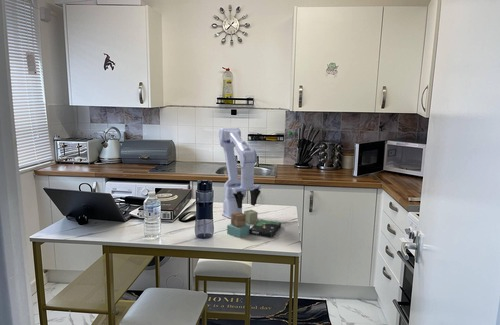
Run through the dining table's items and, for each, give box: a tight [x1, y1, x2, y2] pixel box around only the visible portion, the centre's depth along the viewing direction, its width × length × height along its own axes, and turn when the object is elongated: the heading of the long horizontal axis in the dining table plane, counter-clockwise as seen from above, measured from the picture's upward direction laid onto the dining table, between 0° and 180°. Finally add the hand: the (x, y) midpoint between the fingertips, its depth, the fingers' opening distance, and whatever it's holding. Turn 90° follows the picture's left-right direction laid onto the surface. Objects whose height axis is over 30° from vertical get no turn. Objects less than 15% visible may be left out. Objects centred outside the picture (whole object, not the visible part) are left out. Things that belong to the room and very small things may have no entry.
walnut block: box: [230, 211, 247, 228], centre depth 164 cm, size 4×4×5 cm
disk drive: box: [248, 219, 282, 239], centre depth 169 cm, size 10×3×15 cm
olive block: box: [243, 209, 259, 225], centre depth 180 cm, size 4×4×5 cm
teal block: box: [226, 223, 251, 239], centre depth 164 cm, size 7×7×4 cm
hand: (246, 206), depth 172 cm, fingers open, 7 cm apart
